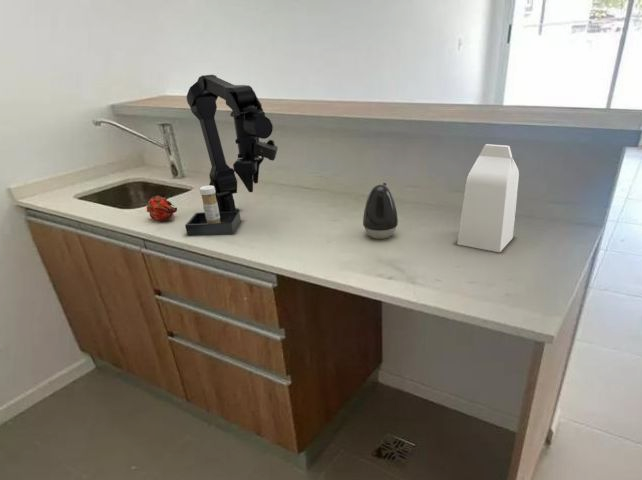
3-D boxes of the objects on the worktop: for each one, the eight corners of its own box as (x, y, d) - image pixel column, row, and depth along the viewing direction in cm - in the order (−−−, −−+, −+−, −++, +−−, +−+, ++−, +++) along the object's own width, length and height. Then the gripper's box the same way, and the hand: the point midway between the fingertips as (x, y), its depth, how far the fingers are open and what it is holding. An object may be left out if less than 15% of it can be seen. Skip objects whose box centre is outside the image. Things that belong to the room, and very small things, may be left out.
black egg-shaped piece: (401, 230, 141) (402, 180, 134) (393, 243, 133) (393, 191, 125) (368, 228, 145) (368, 178, 137) (359, 240, 136) (357, 189, 128)
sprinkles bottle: (215, 224, 154) (207, 184, 147) (225, 227, 151) (217, 186, 144) (204, 229, 150) (196, 187, 143) (214, 231, 148) (206, 189, 141)
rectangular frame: (198, 222, 156) (195, 212, 154) (240, 221, 155) (239, 211, 154) (187, 235, 146) (185, 225, 144) (233, 234, 146) (231, 223, 144)
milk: (457, 244, 131) (465, 148, 117) (472, 230, 139) (481, 139, 125) (499, 252, 125) (514, 152, 111) (512, 237, 133) (527, 142, 119)
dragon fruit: (156, 219, 166) (176, 230, 160) (135, 211, 159) (155, 223, 153) (165, 197, 165) (185, 207, 159) (145, 188, 158) (166, 199, 152)
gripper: (269, 139, 127) (275, 196, 135) (277, 127, 143) (283, 178, 151) (228, 141, 127) (237, 197, 135) (241, 128, 143) (249, 179, 151)
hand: (253, 187), depth 143 cm, fingers open, 9 cm apart
